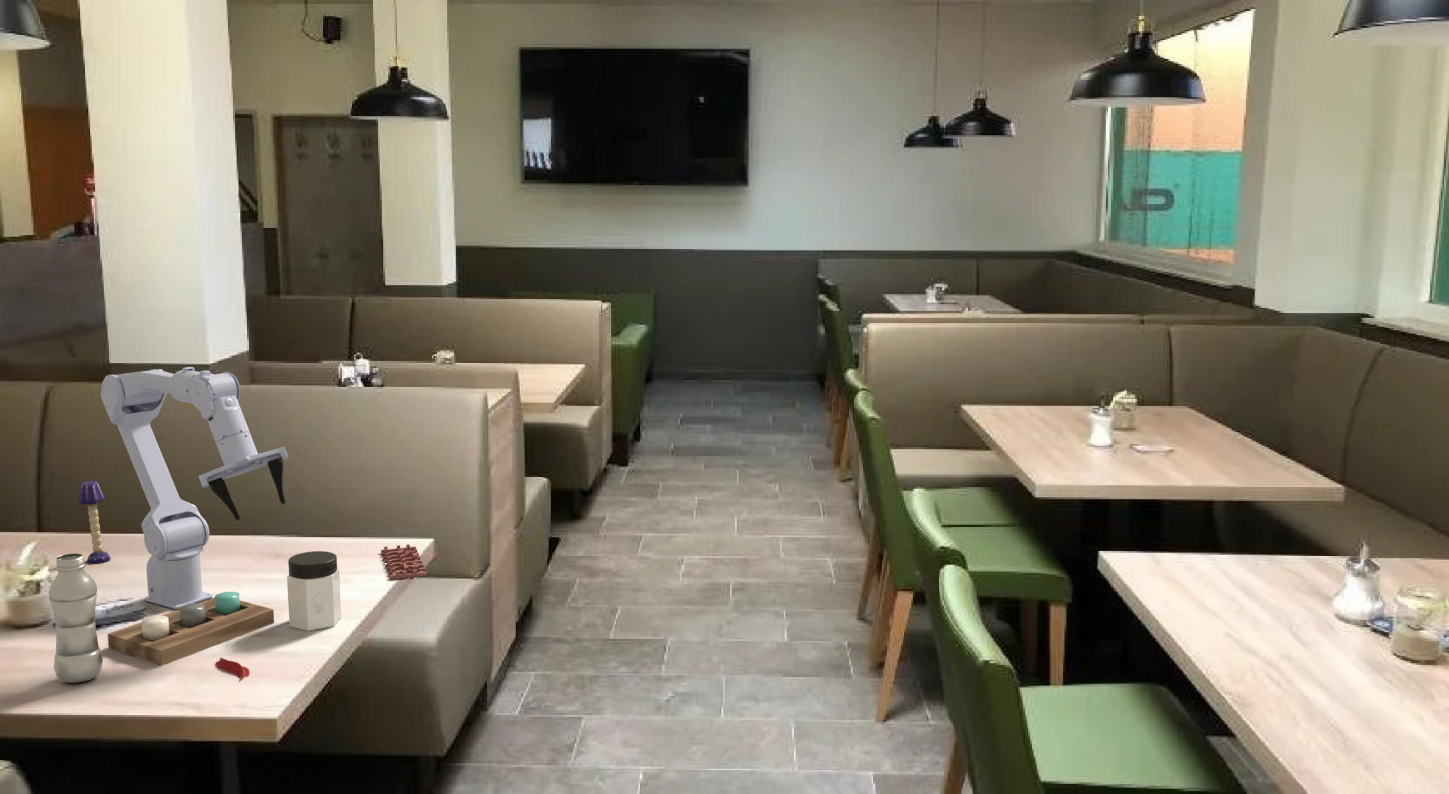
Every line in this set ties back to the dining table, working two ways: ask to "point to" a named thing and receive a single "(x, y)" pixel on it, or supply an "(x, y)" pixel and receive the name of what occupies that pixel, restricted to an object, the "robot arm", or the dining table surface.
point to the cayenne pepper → (233, 668)
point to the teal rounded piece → (227, 603)
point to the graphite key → (192, 615)
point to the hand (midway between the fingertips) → (260, 511)
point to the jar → (313, 590)
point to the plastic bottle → (75, 621)
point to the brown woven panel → (403, 562)
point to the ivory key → (155, 627)
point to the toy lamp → (93, 519)
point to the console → (191, 633)
